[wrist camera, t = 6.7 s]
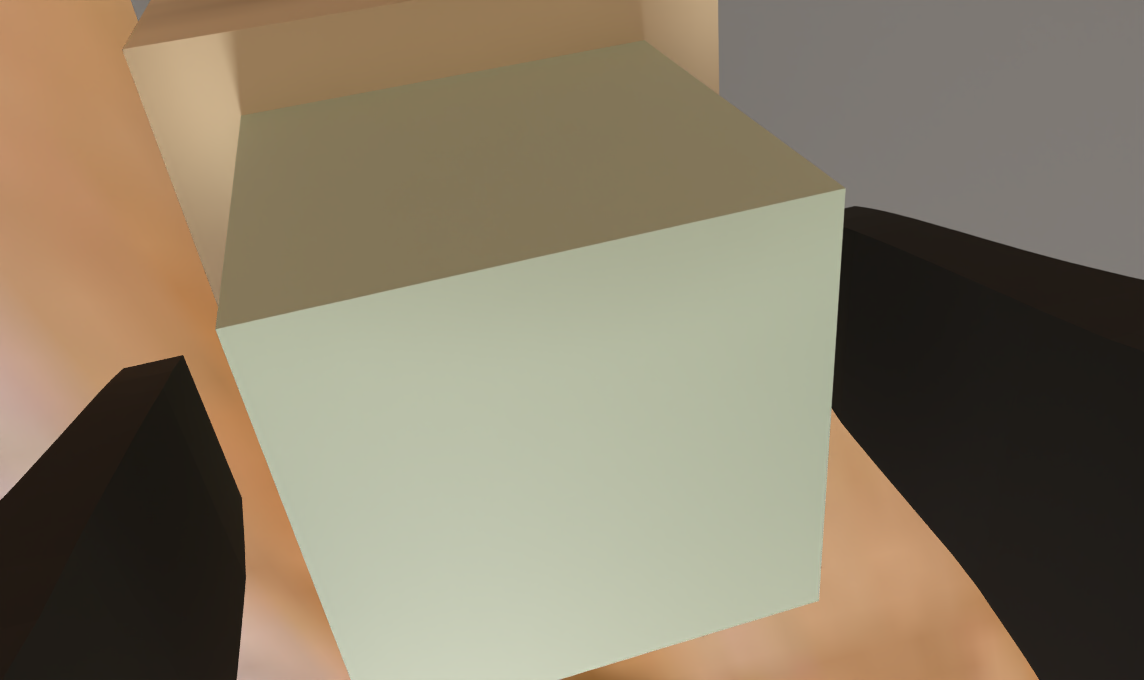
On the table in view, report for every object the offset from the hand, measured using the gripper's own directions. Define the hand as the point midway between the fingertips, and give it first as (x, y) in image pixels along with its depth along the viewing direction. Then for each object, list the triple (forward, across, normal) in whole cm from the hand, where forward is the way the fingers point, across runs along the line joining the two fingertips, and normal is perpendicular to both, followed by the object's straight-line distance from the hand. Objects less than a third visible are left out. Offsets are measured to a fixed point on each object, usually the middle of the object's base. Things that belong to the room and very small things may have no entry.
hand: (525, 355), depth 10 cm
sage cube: (+2, 0, 0) cm, 3 cm away
